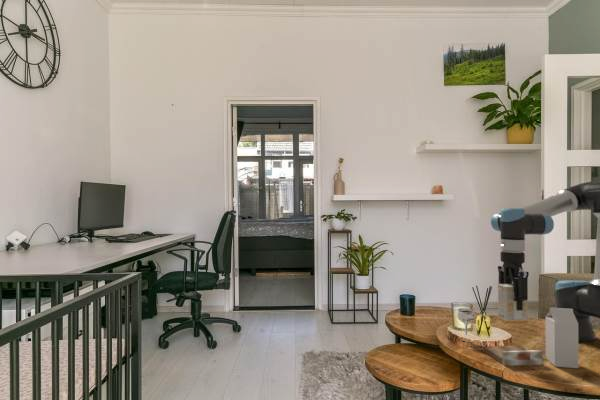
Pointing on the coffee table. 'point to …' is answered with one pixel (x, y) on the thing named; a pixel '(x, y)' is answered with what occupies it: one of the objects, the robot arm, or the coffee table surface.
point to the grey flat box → (514, 355)
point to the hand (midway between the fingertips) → (512, 316)
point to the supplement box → (509, 305)
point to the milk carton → (562, 338)
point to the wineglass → (466, 316)
